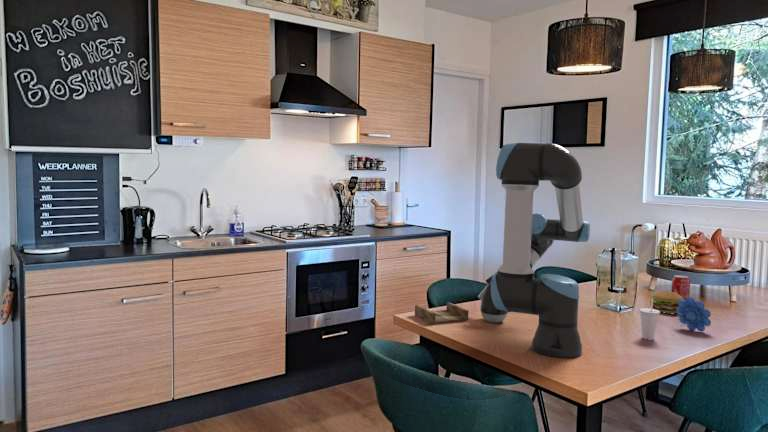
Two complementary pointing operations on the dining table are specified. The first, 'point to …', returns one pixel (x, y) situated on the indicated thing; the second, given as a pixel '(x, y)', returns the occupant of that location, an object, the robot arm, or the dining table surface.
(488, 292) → the pump dispenser
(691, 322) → the blue gear
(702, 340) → the dining table surface
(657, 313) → the smoothie
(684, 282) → the soda can
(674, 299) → the food
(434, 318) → the track
